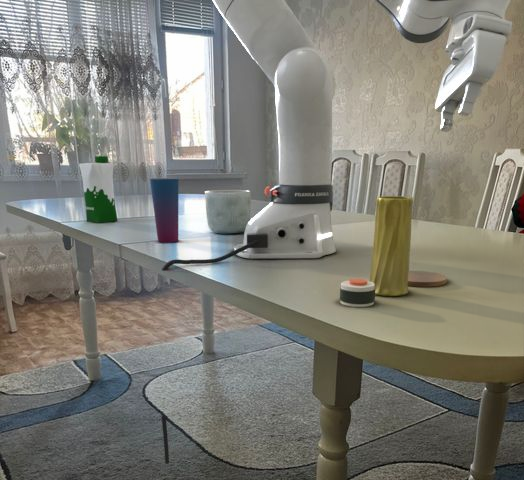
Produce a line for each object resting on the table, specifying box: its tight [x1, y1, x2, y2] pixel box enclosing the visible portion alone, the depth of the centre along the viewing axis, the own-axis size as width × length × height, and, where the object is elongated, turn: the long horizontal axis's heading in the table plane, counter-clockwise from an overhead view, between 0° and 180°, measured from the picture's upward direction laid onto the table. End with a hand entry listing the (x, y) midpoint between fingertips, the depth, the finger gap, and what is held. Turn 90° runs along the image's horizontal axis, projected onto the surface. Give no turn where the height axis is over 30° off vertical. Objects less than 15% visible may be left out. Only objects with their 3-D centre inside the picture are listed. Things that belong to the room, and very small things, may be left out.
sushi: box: [339, 278, 376, 308], centre depth 78 cm, size 5×5×3 cm
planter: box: [204, 189, 252, 235], centre depth 148 cm, size 12×12×11 cm
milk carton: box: [78, 155, 118, 224], centre depth 174 cm, size 9×9×20 cm
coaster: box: [408, 270, 448, 288], centre depth 92 cm, size 9×9×1 cm
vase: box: [369, 195, 414, 297], centre depth 82 cm, size 6×6×14 cm
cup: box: [149, 177, 179, 244], centre depth 133 cm, size 7×7×15 cm
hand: (454, 123), depth 96 cm, fingers open, 8 cm apart
